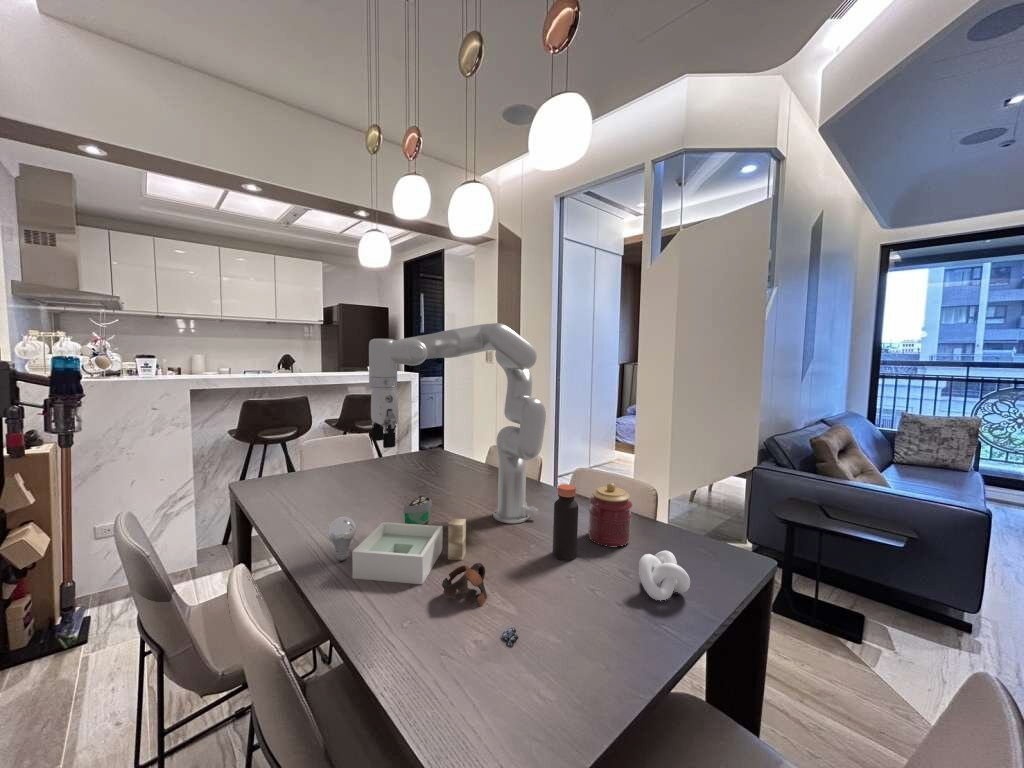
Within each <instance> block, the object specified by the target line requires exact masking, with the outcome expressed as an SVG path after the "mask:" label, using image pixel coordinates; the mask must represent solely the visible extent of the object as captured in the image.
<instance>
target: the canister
mask: <svg viewBox="0 0 1024 768" xmlns="http://www.w3.org/2000/svg"><path fill="white" fill-rule="evenodd" d="M630 498H631V496H630V494H629V493H628V492H626V491H625V490H624V489H622V488H620V487H616V485H615V484H614V483H613V482H609V483H608V484H607V485H605V486H600V487H598V488H596V489H594V490H593V491H592V496H590V498H589V500H588V501H589V503H590V507H589V509H588V512H589V516H588V528H587V533H588V538H589V537H590V538H591V539H592V540H593V541H595V542H597V543H599V544H602V545H607V546H621V545H625V544H627V543H628V542H629V541H630V540H631V538H632V537H631V534H632V533H631V530H632V529H631V528H632V527H631V524H632V522H631V521H632V517H633V515H632V512H631V508H632V507H633V503H632V501H631V500H630ZM590 538H589V539H590ZM591 539H590V540H591ZM592 540H591V541H592ZM593 541H592V542H593ZM595 542H594V543H595ZM630 542H631V541H630ZM630 542H629V543H630ZM597 543H596V544H597ZM629 543H628V544H629ZM599 544H598V545H599ZM628 544H627V545H628ZM602 545H601V546H602ZM625 546H626V545H625Z"/></svg>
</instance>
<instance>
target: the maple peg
mask: <svg viewBox="0 0 1024 768" xmlns="http://www.w3.org/2000/svg"><path fill="white" fill-rule="evenodd" d="M447 526H448V529H447V530H448V532H447V533H448V534H447V536H448V538H447V541H448V544H447V549H448V550H447V559H448V560H455V561H463V560H464V557H465V555H466V552H467V551H466V548H467V547H466V546H467V545H466V544H467V541H466V540H467V539H466V537H467V534H466V533H467V519H466V518H454V517H451V519H450V521H449V523H448V525H447Z"/></svg>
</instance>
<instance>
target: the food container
mask: <svg viewBox="0 0 1024 768" xmlns="http://www.w3.org/2000/svg"><path fill="white" fill-rule="evenodd" d="M432 503H433V502H432V499H431V496H429V495H427V494H424V493H419V496H418V497H417V498H416V499H414V500H412V501H411V503H410V504H409V505H403V514H404V524H418V525H429V521H430V519H429V518H430V509H431V508H432V505H433V504H432Z"/></svg>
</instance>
